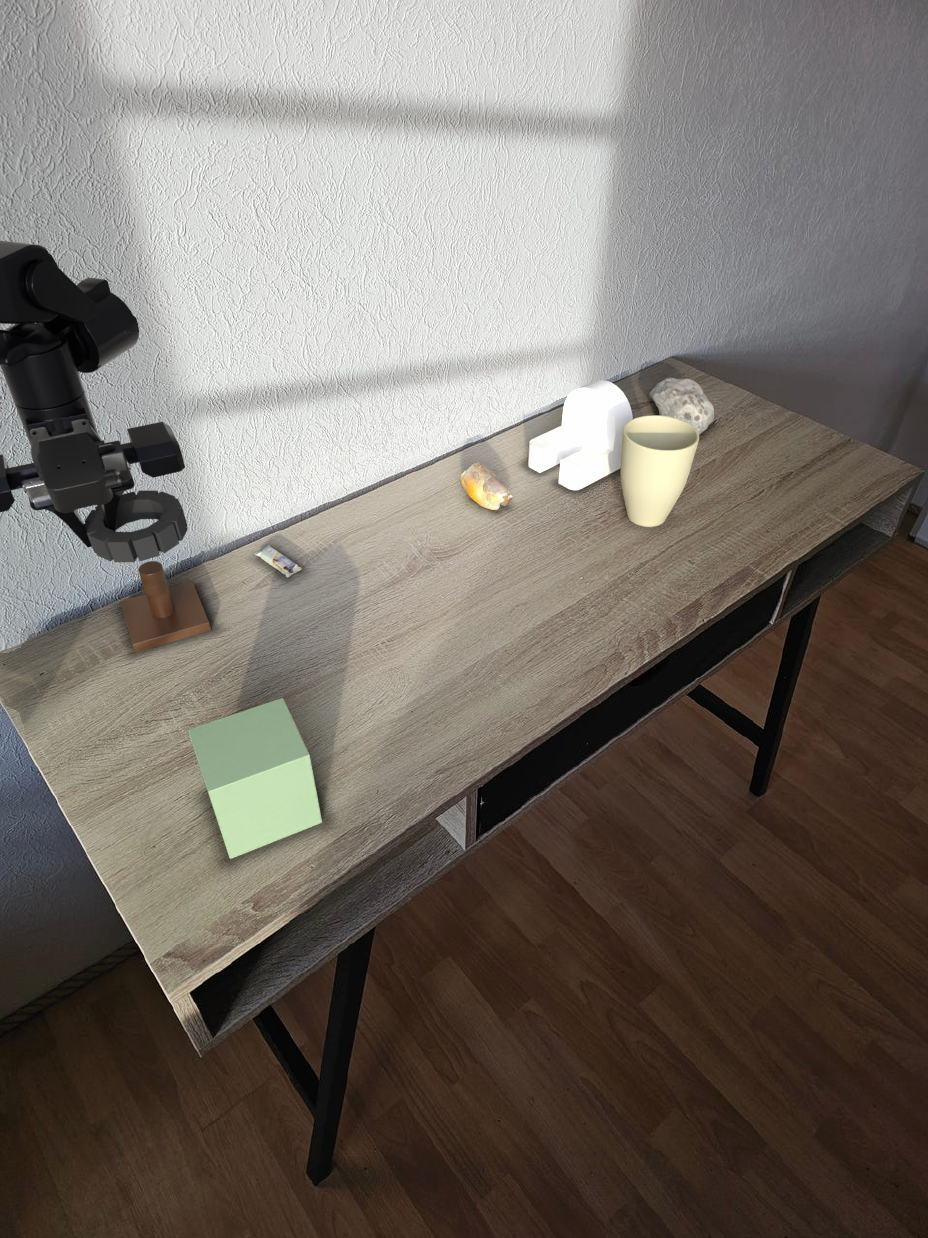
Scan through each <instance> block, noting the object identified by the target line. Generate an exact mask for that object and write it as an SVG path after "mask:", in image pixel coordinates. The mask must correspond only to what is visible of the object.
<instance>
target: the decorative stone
mask: <svg viewBox="0 0 928 1238" xmlns="http://www.w3.org/2000/svg"><path fill="white" fill-rule="evenodd" d="M649 398H650V400H652V401H653V402H654V403H655V406H656V407H657V410H658V415H660V416H668V417H673V418H677V419H680V420H682V421H685V422H687V423H689V424H690V425H692V426H693V427H694V428H695V429H696V430H697V431H698V433H699V435H701V434H702V433H703V432H705V431H706V430H707V429H708V427H709V426H710V425H711V424H712V423H713V422H714V420H715V409H714V406H713V404H712V402H711V401H709V399H708V397H707V395H706V394H705V392H704V390H703V388H702V387H701V385H699V384H698V383H697V381H695V380H694V379H690V378H675V377H665V379H663V380H661V381H659V382H658V383H656V385H655V386H654V387H653V388H652V389H651V390H650V392H649Z"/></svg>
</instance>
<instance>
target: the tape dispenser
mask: <svg viewBox="0 0 928 1238" xmlns="http://www.w3.org/2000/svg"><path fill="white" fill-rule="evenodd" d="M632 411H633V410H632V408H631V404H630V402H629V400H628V398H627V397H626V394H625V393H624V391H623V390H621V388H620V387H619V386H618V385H616V384H615V383H612V382H611V381H609V380H605V379H597V380H593V381H591V382H589V383H587V384H584V385H582V386H580V387H577V388H576V389H574V390H572V391H570V393H569V394H567V396H566V399H565V400H564V403H563V408H562V418H561V425H560V426H557V427H556V428H553V429H551V430H549V431H546V432H545V433H542V434H540V435H538V436H536V437H533V438H532V439H530V440H529V441H528V442H529V444H528V458H527V459H528V461H527V462H528V463H527V466H528V468H530V469H532V470H533V471H536V472H537V473H539V474H541V473H543V472H544V471H547V470H549V469H551V468H554V467H555V466H557V465H559V470H558V471H559V472H558V484H559V485H560V486H563V487H564V488H566V489H568V490H570V491H580V490H581V489H584V488H585V487H587V486H589V485H591V484H593V483H595V482H598V481H599V480H601V479H603V478H605V477H607V476H608V475H610V474H612V473H615V472H616V471H618V470H621V454H622V439H623V428H624V426H625V424H626V423H627V422H629V421H630V420H632V419H634V416H633V412H632Z"/></svg>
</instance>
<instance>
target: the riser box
mask: <svg viewBox="0 0 928 1238" xmlns="http://www.w3.org/2000/svg"><path fill="white" fill-rule="evenodd" d="M187 732H188V735H189V738H190V739H189V740H190V742H191V745H192V748H193V751H194V753H195V757H196V760H197V763H198V766H199V770H200V773H201V775H202V779H203V781H204V785H205V788H206V791H207V794H208V797H209V800H210V804H211V806H212V809H213V813H214V815H215V818H216V821H217V824H218V828H219V830H220V833H221V837H222V840H223V842H224V846H225V848H226V852H227V854H228V858H229V859H230V860H232V859H234V858H237V857H239V856H241V855H244V854H247V853H250V852H252V851H254V850H258V849H259V848H262V847H264V846H268V845H269V844H272V843H275V842H278V841H280V840H282V839H284V838H288V837H291V835H292V836H293V835H295V834H297V833H300V832H302V831H306V830H307V829H310V828H313V827H315V826H317V825H320V824H322V823H323V819H322V814H321V808H320V802H319V797H318V792H317V786H316V781H315V776H314V770H313V765H312V760H311V759H312V758H311V755H310V753H309V750H308V748H307V746H306V744H305V741H304V739H303V737H302V735H301V733H300V731H299V728H298V726H297V724H296V722H295V720H294V718H293V715H292V713H291V711H290V709H289V707H288V705H287V703H286V701H285V699H284V697H281V698H277V699H275V700H272V701H269V702H266V703H263V704H259V705H257V706H254V707H251V708H248V709H245V710H242V711H239V712H236V713H233V714H229V715H226V716H224V717H222V718H221V717H220V718H218V719H215V720H212V721H209V722H206V723H203V724H201V725H197V726H194V727H192V728H188V729H187Z"/></svg>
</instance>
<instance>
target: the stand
mask: <svg viewBox="0 0 928 1238" xmlns="http://www.w3.org/2000/svg"><path fill="white" fill-rule="evenodd" d="M137 572H138V575H139V577H140V580H141V584H142V587H143V590H144V593H145V594H144V593H143V594H141V595H137V596H134V597H130V598H127V599H122V600H120V601H119V604H120V607H121V611H122V615H123V618H124V621H125V625H126V628H127V632H128V634H129V638H130V642H131V645H132V648H133V650H134V653H135V654H136V653H140V652H143V651H147V650H149V649H153V648H157V647H160V646H164V645H166V644H170V643H173V642H177V641H180V640H184V639H187V638H190V637H193V636H197V635H200V634H203V633H207V632H210V631H212V628H211V624H210V621H209V619H208V617H207V616H208V615H207V614H206V611H205V609H204V606H203V604H202V602H201V599H200V596H199V594H198V591H197V590H196V586H195V585H194V582H193V581H188V582H184V583H181V584H177V585H174V586H170V587H169V584H168V580H167V577H166V573H165V571H164V568H163V564H162V563H161V562H160V561H156V560H151V561H146V562H144V563H142V564H141V565H140V566H138V570H137Z"/></svg>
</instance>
